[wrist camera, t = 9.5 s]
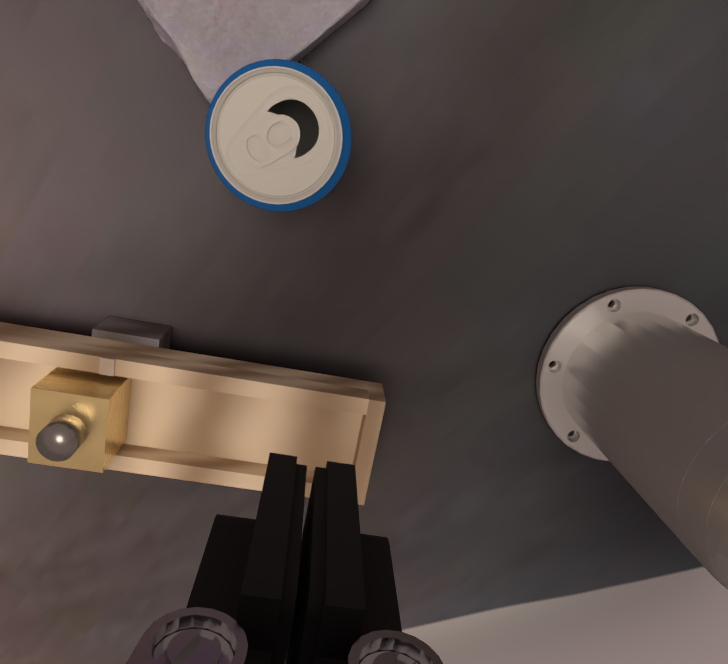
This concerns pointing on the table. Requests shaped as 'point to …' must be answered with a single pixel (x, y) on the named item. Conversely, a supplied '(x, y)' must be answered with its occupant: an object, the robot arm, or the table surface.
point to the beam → (198, 406)
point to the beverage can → (278, 135)
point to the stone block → (243, 32)
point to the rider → (78, 419)
